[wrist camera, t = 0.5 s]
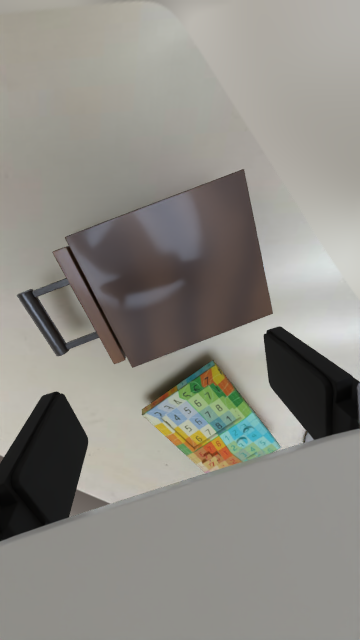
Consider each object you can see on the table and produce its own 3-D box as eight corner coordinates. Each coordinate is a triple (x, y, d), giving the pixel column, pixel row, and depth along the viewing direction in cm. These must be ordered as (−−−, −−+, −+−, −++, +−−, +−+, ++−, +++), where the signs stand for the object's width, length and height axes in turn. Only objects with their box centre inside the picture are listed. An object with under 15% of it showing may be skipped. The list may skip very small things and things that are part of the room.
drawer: (78, 352, 29) (60, 385, 23) (25, 265, 25) (-16, 277, 18) (220, 297, 29) (241, 315, 23) (192, 202, 25) (209, 192, 19)
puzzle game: (221, 491, 37) (142, 420, 29) (213, 464, 41) (142, 396, 34) (284, 452, 36) (217, 368, 28) (268, 428, 40) (207, 350, 33)
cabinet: (135, 332, 30) (132, 368, 22) (89, 235, 25) (64, 237, 17) (239, 292, 30) (273, 313, 22) (212, 188, 26) (244, 168, 18)
